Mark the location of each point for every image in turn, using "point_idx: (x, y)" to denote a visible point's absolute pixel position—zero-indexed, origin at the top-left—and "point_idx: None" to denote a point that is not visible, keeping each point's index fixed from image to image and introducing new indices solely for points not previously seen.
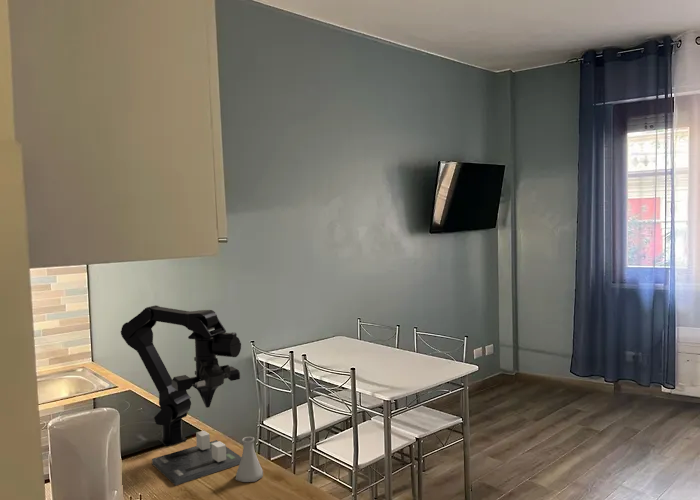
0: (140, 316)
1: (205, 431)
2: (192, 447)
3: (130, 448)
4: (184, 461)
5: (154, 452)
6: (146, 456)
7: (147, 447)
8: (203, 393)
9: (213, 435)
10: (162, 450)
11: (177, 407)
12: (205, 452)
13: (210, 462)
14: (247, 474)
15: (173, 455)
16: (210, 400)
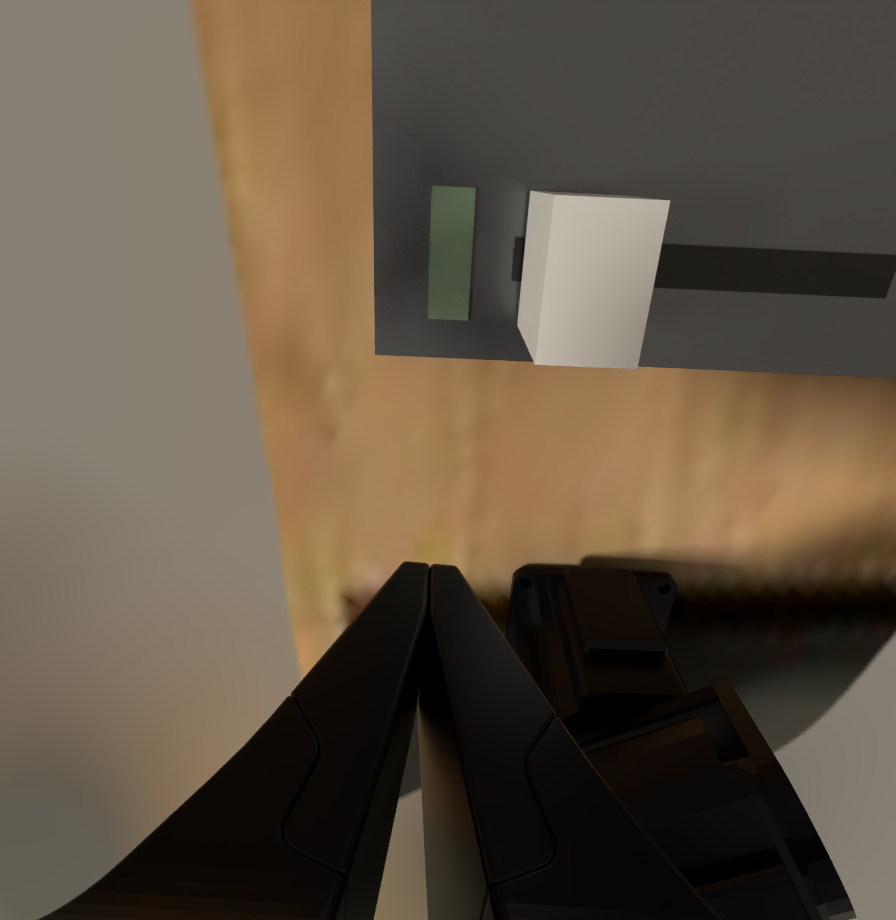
0: None
1: (542, 319)
2: None
3: (827, 684)
4: (879, 90)
5: (782, 542)
6: (860, 520)
7: (754, 636)
8: (640, 858)
9: (315, 526)
10: (726, 536)
11: (744, 825)
12: (604, 147)
13: None
14: None
15: (834, 314)
16: (377, 632)
